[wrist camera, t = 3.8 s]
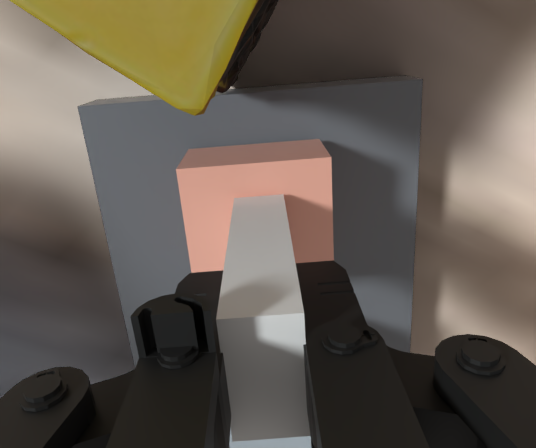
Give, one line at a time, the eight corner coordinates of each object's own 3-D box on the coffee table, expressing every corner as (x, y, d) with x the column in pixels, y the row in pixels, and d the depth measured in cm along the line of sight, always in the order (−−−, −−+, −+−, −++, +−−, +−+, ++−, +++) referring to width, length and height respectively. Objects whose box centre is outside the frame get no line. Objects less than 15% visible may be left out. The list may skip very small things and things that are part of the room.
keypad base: (178, 501, 26) (172, 537, 24) (96, 99, 18) (77, 106, 16) (391, 485, 26) (402, 520, 24) (405, 75, 18) (422, 79, 16)
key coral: (210, 244, 20) (196, 304, 15) (195, 137, 18) (175, 169, 14) (316, 235, 20) (334, 293, 15) (312, 128, 18) (331, 157, 14)
